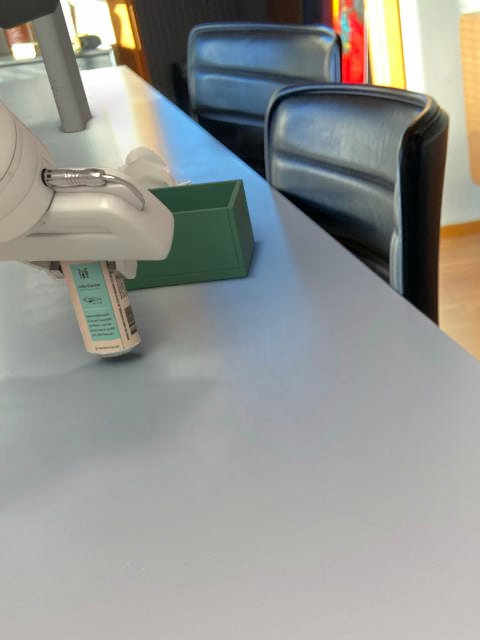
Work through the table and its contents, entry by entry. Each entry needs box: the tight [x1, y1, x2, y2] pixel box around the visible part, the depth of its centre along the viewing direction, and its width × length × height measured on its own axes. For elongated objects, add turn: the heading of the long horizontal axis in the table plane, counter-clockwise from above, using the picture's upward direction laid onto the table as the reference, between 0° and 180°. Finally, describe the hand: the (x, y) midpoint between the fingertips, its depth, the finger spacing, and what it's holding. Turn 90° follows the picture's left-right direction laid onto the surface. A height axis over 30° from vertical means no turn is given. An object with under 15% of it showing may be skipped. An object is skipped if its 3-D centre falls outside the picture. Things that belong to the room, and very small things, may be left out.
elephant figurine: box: [117, 145, 192, 189], centre depth 124 cm, size 10×12×9 cm
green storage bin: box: [124, 178, 256, 291], centre depth 111 cm, size 13×13×7 cm
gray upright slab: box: [31, 0, 93, 133], centre depth 191 cm, size 17×5×25 cm, turn 12°
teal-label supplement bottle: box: [60, 260, 142, 358], centre depth 86 cm, size 5×5×12 cm
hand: (96, 271), depth 86 cm, fingers closed on teal-label supplement bottle, 5 cm apart
